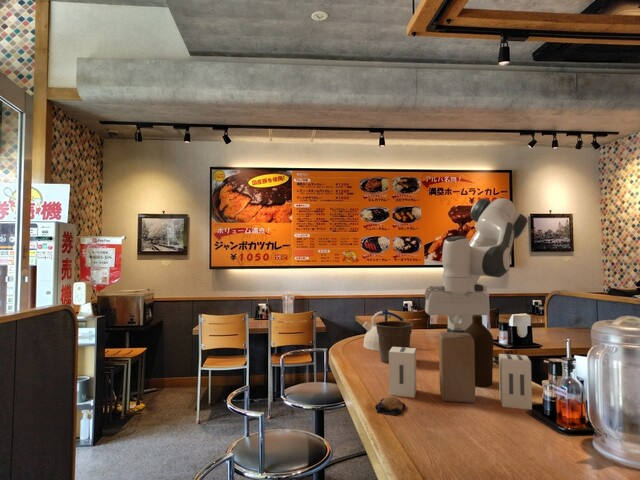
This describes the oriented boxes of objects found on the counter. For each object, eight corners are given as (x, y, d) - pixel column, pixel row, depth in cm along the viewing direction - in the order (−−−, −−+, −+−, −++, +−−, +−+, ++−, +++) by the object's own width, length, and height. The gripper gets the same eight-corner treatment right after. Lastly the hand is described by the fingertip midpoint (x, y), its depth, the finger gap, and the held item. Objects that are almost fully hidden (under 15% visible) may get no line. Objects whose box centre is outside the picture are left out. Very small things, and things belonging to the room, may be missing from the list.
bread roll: (380, 403, 128) (380, 391, 128) (407, 406, 125) (407, 394, 125) (372, 415, 118) (372, 402, 118) (401, 418, 115) (401, 405, 115)
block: (475, 404, 125) (474, 338, 126) (441, 401, 128) (440, 336, 128) (471, 393, 135) (470, 332, 136) (439, 391, 137) (438, 331, 138)
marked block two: (499, 398, 131) (498, 353, 132) (527, 400, 129) (526, 354, 129) (502, 406, 123) (501, 359, 124) (532, 409, 121) (531, 361, 122)
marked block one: (392, 387, 142) (392, 346, 142) (416, 390, 139) (416, 347, 140) (389, 395, 134) (388, 351, 134) (414, 397, 131) (413, 352, 132)
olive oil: (479, 389, 140) (477, 315, 141) (456, 381, 149) (455, 311, 151) (501, 385, 145) (499, 313, 146) (477, 377, 154) (476, 310, 155)
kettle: (363, 342, 219) (363, 308, 220) (402, 343, 216) (402, 309, 217) (361, 350, 199) (361, 313, 200) (405, 352, 196) (405, 314, 197)
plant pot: (388, 367, 168) (388, 327, 169) (368, 358, 183) (368, 322, 184) (421, 363, 175) (420, 325, 176) (399, 355, 190) (399, 319, 190)
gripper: (428, 286, 129) (428, 331, 128) (491, 286, 130) (492, 330, 130) (422, 285, 135) (422, 327, 135) (482, 285, 137) (483, 327, 136)
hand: (457, 329), depth 132 cm, fingers closed
